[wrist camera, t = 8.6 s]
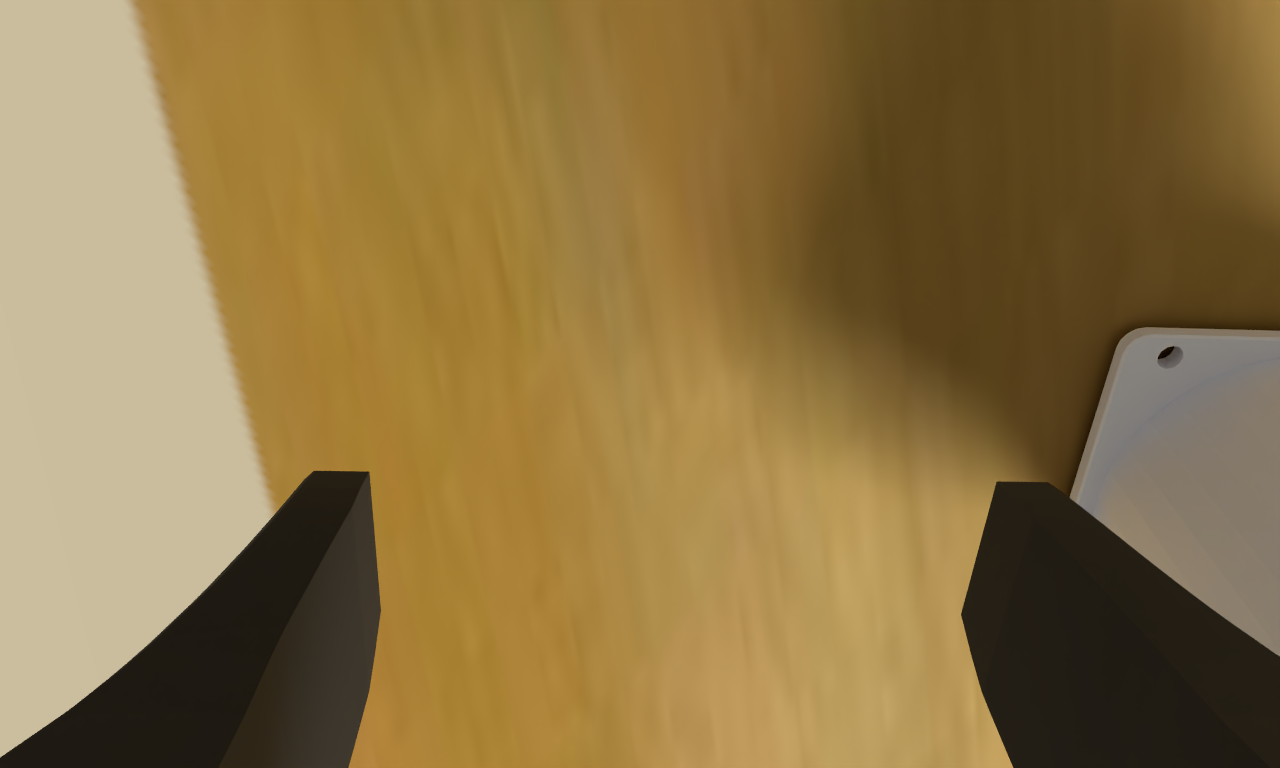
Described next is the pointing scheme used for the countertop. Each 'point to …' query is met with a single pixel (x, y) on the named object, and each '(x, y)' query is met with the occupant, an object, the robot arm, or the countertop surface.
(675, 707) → the countertop surface
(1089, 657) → the robot arm
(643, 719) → the countertop surface
